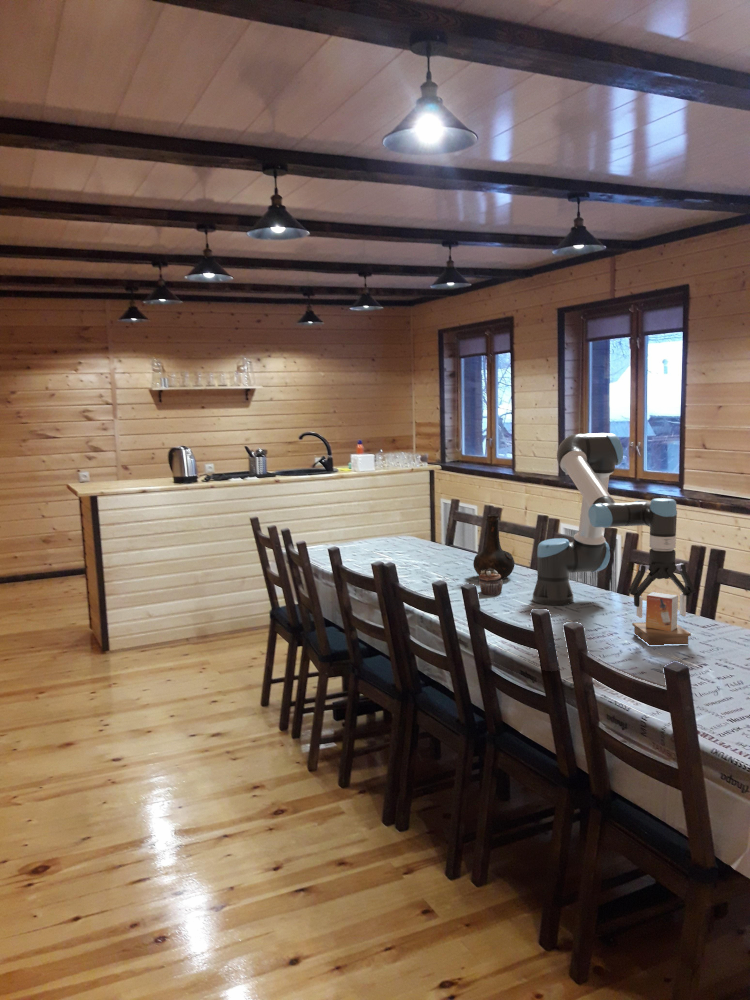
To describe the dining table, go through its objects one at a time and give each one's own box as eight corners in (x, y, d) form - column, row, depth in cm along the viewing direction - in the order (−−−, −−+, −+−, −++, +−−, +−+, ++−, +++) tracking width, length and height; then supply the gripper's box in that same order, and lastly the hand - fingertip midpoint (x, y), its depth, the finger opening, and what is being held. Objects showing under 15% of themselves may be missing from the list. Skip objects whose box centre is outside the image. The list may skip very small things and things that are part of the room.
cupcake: (492, 597, 289) (492, 572, 288) (474, 592, 296) (473, 568, 295) (508, 592, 295) (508, 568, 294) (490, 588, 303) (489, 564, 301)
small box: (645, 627, 230) (645, 594, 229) (651, 623, 234) (652, 591, 233) (671, 632, 225) (672, 598, 224) (677, 627, 229) (678, 594, 228)
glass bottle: (502, 584, 309) (502, 518, 306) (465, 579, 320) (465, 515, 317) (521, 576, 323) (521, 513, 320) (485, 572, 334) (485, 511, 331)
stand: (632, 634, 236) (632, 622, 236) (672, 633, 237) (672, 621, 236) (648, 647, 224) (648, 634, 223) (690, 646, 224) (690, 633, 223)
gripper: (626, 552, 223) (625, 620, 225) (708, 549, 223) (706, 618, 226) (618, 547, 230) (617, 613, 233) (696, 545, 231) (695, 611, 233)
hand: (660, 616), depth 229 cm, fingers open, 13 cm apart
